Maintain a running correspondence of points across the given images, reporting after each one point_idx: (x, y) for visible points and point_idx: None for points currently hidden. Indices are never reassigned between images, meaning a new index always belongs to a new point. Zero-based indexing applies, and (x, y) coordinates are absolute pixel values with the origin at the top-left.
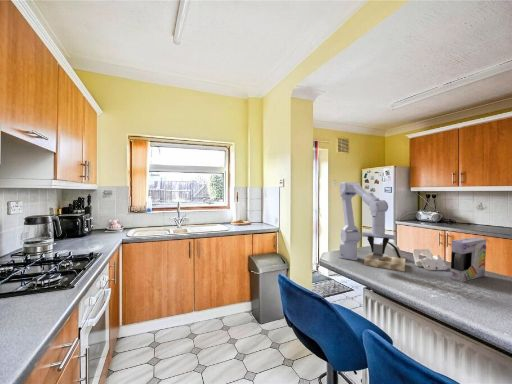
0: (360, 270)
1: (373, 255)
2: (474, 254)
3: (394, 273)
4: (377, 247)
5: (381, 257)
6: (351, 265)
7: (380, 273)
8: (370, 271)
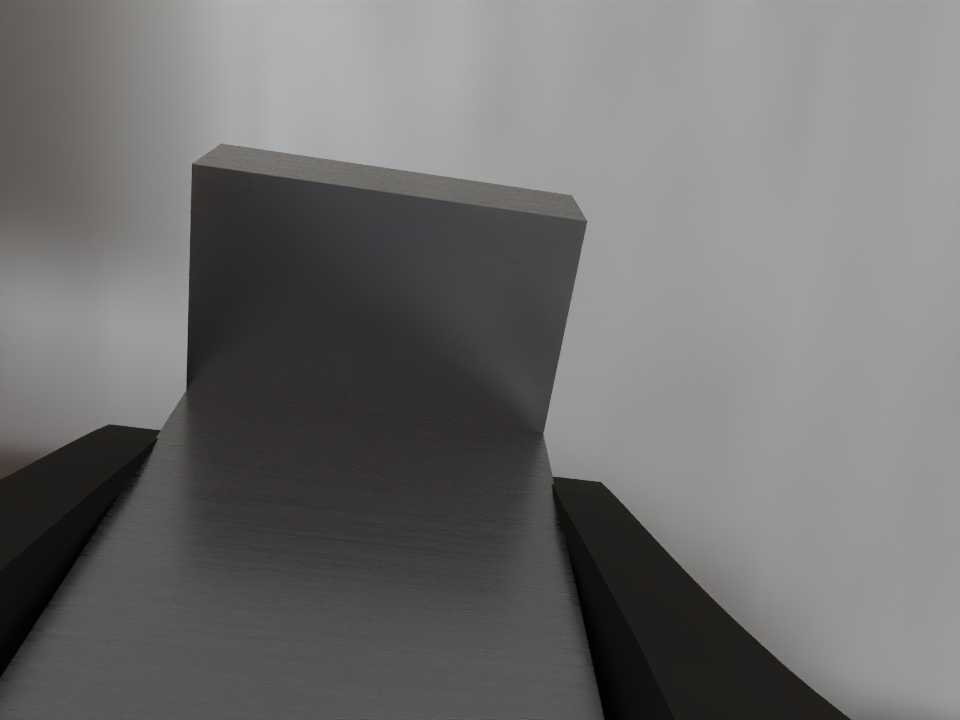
0: (796, 121)
1: (547, 210)
2: None
3: (37, 241)
4: (350, 626)
5: (217, 160)
6: (951, 415)
7: (337, 92)
8: (563, 148)
